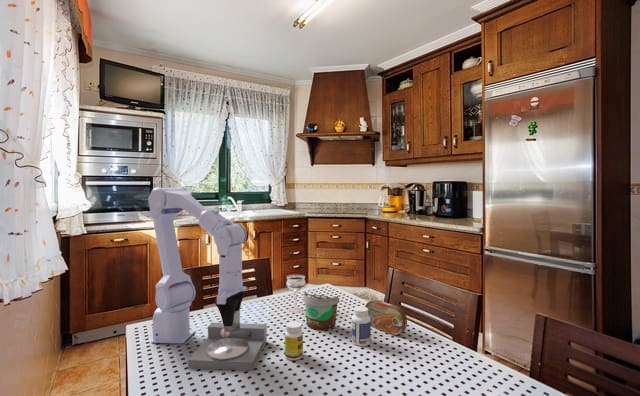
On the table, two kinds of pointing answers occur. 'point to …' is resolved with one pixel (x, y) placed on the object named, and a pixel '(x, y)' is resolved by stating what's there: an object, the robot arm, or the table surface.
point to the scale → (248, 332)
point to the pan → (227, 349)
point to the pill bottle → (361, 326)
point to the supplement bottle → (294, 341)
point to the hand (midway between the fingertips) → (231, 322)
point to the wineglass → (295, 288)
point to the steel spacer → (234, 323)
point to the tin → (386, 317)
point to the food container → (320, 311)
